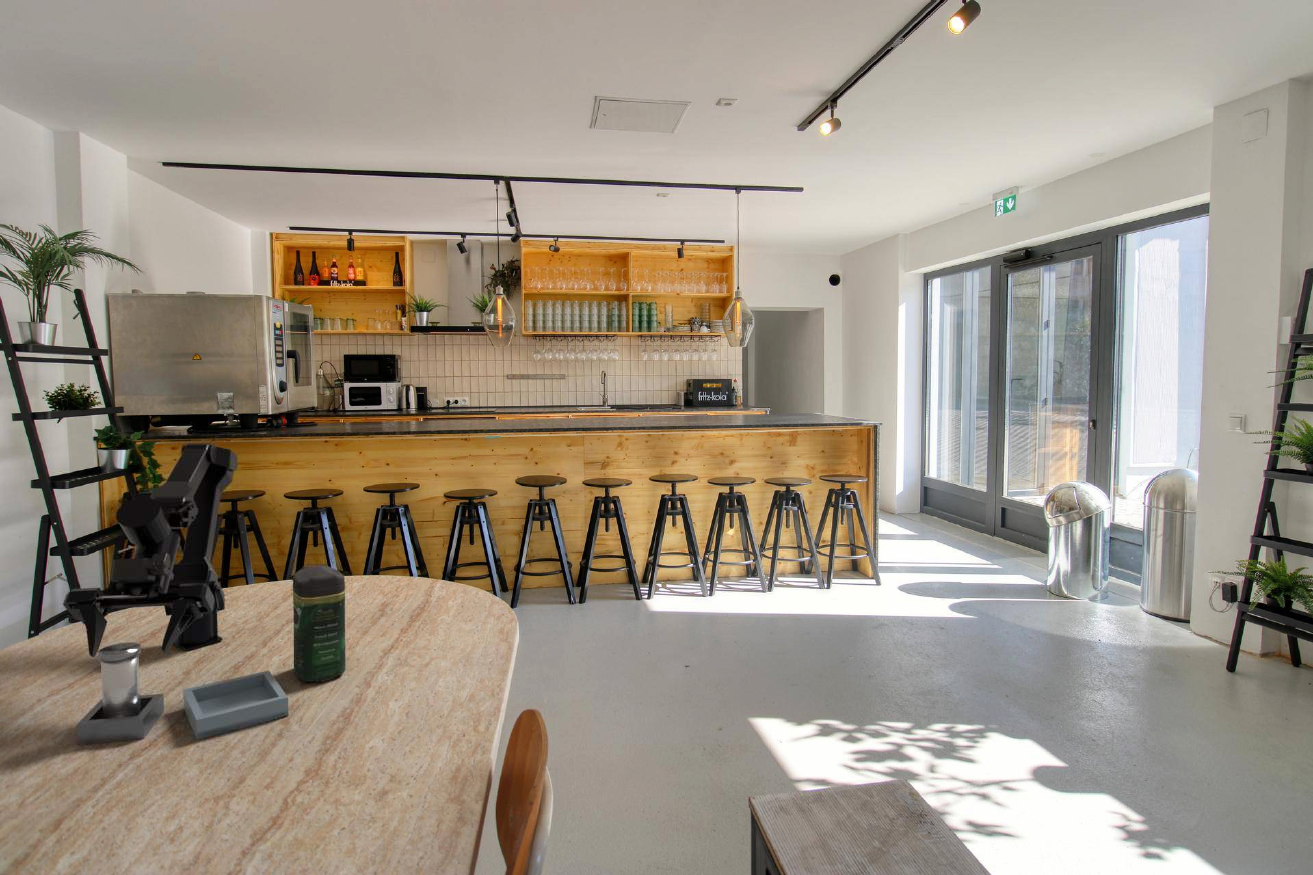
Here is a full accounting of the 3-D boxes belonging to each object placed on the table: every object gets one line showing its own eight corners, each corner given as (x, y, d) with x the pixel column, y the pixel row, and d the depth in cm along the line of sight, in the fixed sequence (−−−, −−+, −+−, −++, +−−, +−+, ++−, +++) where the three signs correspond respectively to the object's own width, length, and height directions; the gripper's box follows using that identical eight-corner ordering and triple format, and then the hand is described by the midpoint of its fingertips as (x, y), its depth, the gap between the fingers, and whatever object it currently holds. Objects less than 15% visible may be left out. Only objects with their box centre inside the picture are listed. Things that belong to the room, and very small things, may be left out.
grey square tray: (102, 717, 110) (101, 698, 110) (164, 712, 112) (163, 693, 112) (77, 744, 102) (76, 724, 102) (143, 738, 104) (143, 718, 104)
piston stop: (134, 716, 111) (131, 639, 109) (150, 726, 108) (146, 647, 107) (95, 729, 106) (91, 650, 105) (110, 740, 104) (106, 658, 102)
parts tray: (183, 708, 114) (183, 689, 113) (269, 687, 121) (268, 670, 121) (197, 740, 105) (196, 720, 104) (288, 715, 112) (288, 697, 112)
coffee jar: (351, 677, 126) (350, 572, 125) (301, 688, 122) (299, 579, 120) (337, 657, 134) (336, 558, 132) (289, 667, 129) (287, 565, 128)
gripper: (66, 537, 110) (30, 634, 100) (207, 532, 115) (186, 625, 106) (92, 573, 118) (61, 667, 109) (222, 568, 123) (204, 656, 114)
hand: (128, 653), depth 109 cm, fingers open, 9 cm apart
